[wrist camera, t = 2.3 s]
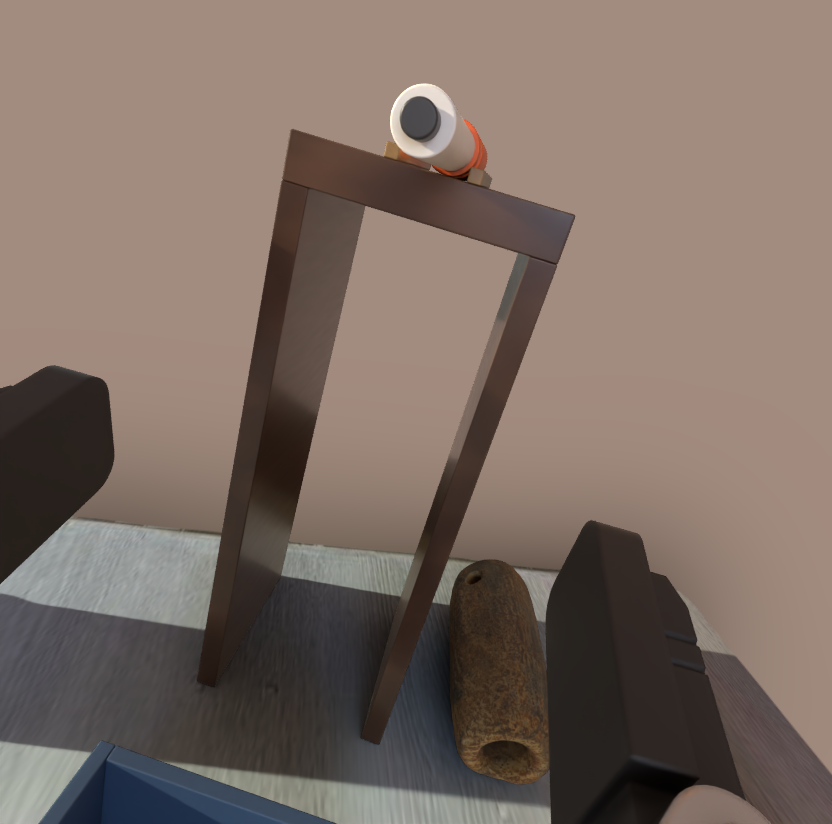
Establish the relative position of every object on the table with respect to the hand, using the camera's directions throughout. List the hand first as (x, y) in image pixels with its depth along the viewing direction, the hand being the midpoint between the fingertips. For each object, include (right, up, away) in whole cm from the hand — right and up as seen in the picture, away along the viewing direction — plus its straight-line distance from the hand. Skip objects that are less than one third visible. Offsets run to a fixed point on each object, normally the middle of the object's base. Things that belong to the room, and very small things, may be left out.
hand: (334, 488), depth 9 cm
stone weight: (+6, -19, +31) cm, 37 cm away
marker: (+3, +12, +13) cm, 17 cm away
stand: (-6, -15, +31) cm, 35 cm away
